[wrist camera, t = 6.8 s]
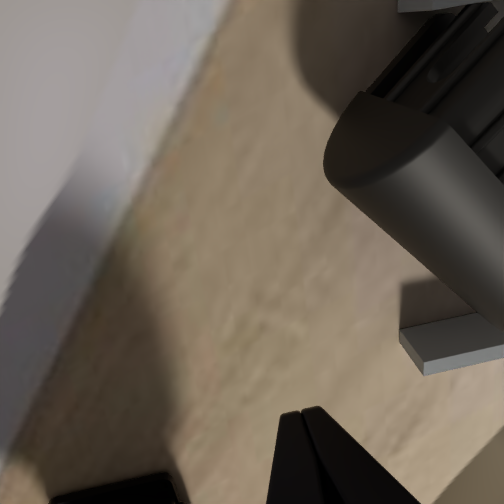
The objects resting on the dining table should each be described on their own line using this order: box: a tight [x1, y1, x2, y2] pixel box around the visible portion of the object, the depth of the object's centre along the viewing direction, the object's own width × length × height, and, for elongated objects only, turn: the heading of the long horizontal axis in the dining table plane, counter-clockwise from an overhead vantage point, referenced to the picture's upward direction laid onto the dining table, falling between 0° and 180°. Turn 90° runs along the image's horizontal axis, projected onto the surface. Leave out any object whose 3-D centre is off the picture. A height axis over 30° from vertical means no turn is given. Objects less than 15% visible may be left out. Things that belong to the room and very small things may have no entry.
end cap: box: [323, 2, 504, 332], centre depth 16 cm, size 10×7×7 cm
